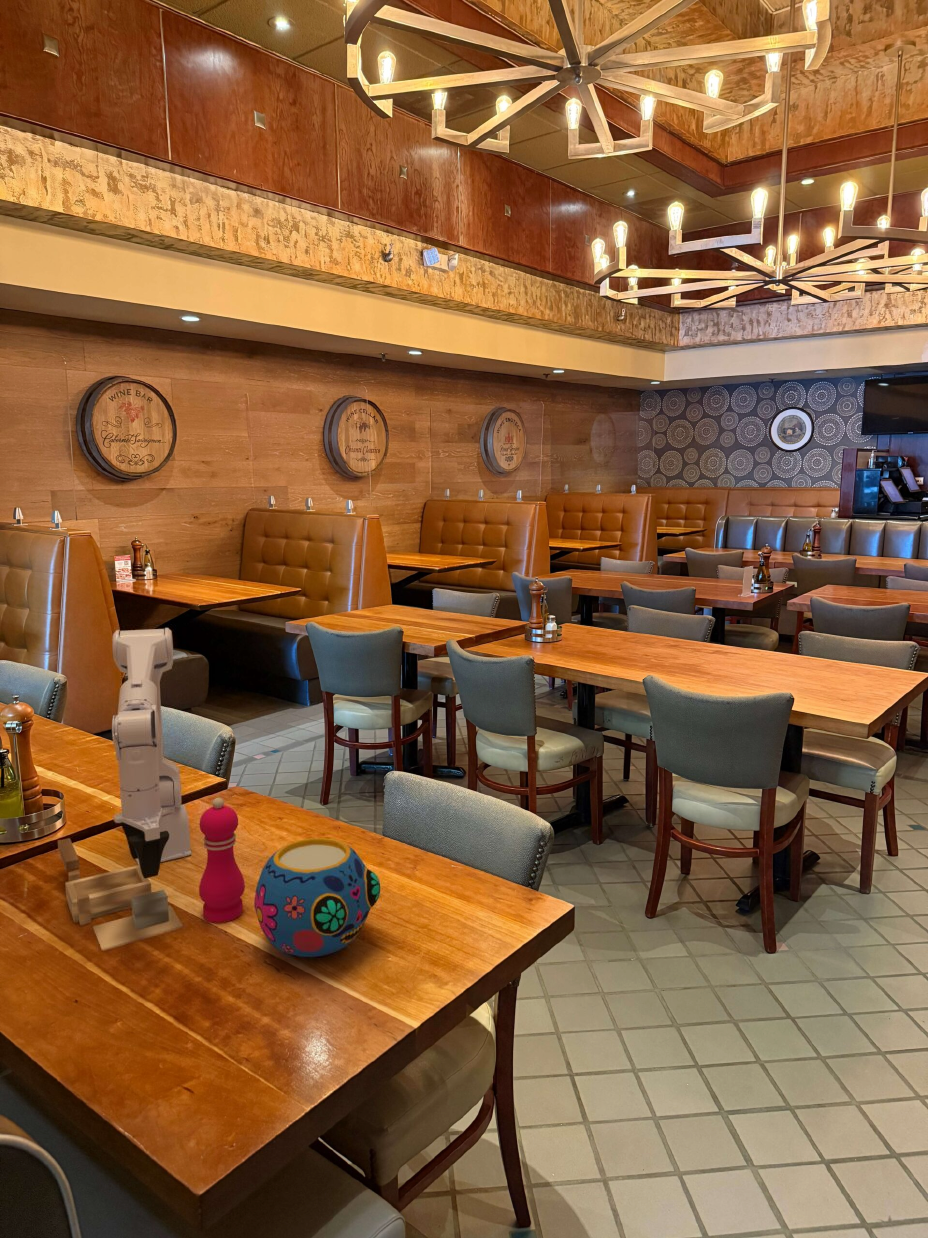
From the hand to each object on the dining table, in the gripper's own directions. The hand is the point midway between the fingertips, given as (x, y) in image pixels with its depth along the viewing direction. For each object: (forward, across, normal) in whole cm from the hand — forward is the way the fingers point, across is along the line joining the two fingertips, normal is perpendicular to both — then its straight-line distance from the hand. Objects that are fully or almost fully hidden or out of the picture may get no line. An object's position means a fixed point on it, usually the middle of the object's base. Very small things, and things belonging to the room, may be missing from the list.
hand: (144, 866), depth 128 cm
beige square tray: (+10, -11, -4) cm, 15 cm away
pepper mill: (+10, +3, +11) cm, 15 cm away
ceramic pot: (+10, +20, +20) cm, 30 cm away
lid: (+10, 0, -2) cm, 11 cm away
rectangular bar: (+5, -21, -8) cm, 24 cm away
